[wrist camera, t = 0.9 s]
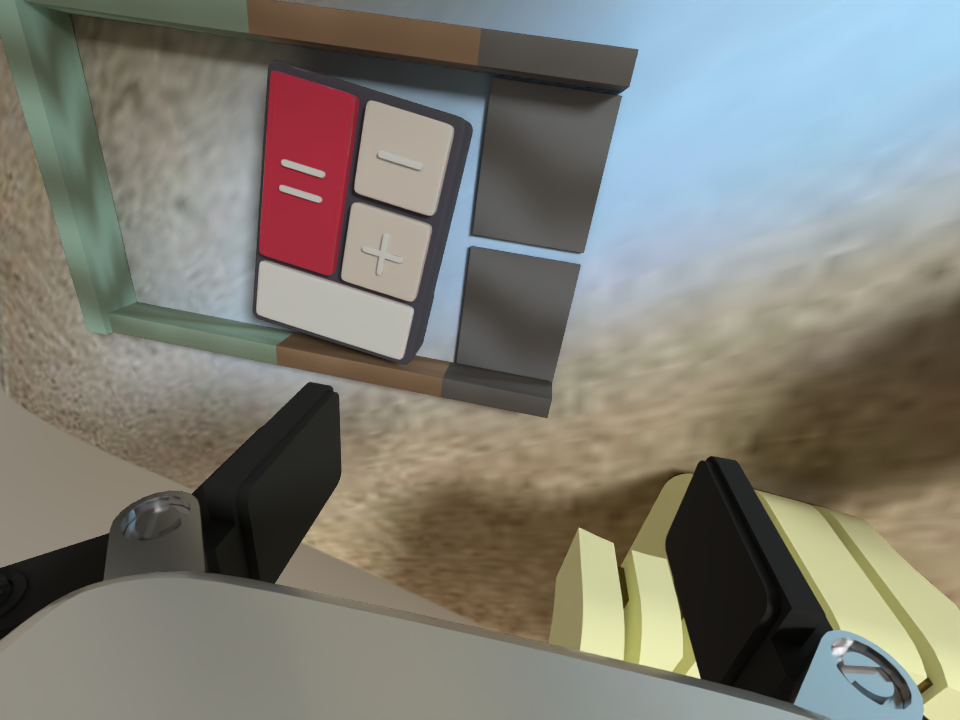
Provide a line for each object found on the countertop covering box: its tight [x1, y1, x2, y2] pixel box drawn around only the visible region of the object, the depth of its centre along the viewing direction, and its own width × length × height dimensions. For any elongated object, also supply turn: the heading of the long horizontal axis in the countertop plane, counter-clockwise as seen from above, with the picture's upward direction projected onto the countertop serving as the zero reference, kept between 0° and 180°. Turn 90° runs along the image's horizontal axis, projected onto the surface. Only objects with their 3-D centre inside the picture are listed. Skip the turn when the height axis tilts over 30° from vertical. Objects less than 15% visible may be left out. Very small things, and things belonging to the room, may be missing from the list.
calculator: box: [253, 60, 473, 365], centre depth 27 cm, size 11×4×15 cm
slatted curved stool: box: [548, 473, 960, 720], centre depth 28 cm, size 30×16×18 cm, turn 78°
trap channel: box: [0, 0, 638, 418], centre depth 28 cm, size 21×34×3 cm, turn 82°
